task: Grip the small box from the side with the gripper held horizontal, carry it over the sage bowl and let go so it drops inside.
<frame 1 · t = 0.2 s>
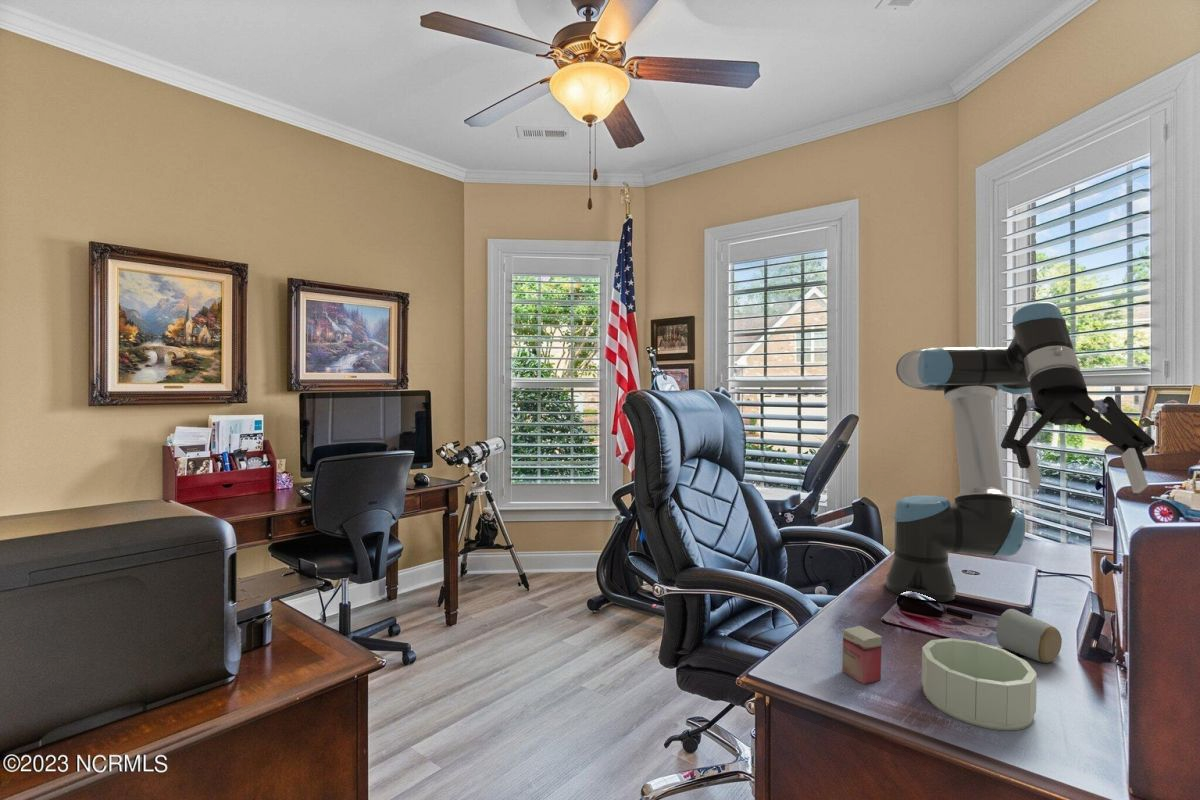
hand: (1087, 487, 90), 35 cm above the table, tool tilted 35°, fingers open, 13 cm apart
small box: (861, 677, 101), on the table
sage bowl: (975, 702, 92), on the table
ceramic mug: (1030, 654, 109), on the table
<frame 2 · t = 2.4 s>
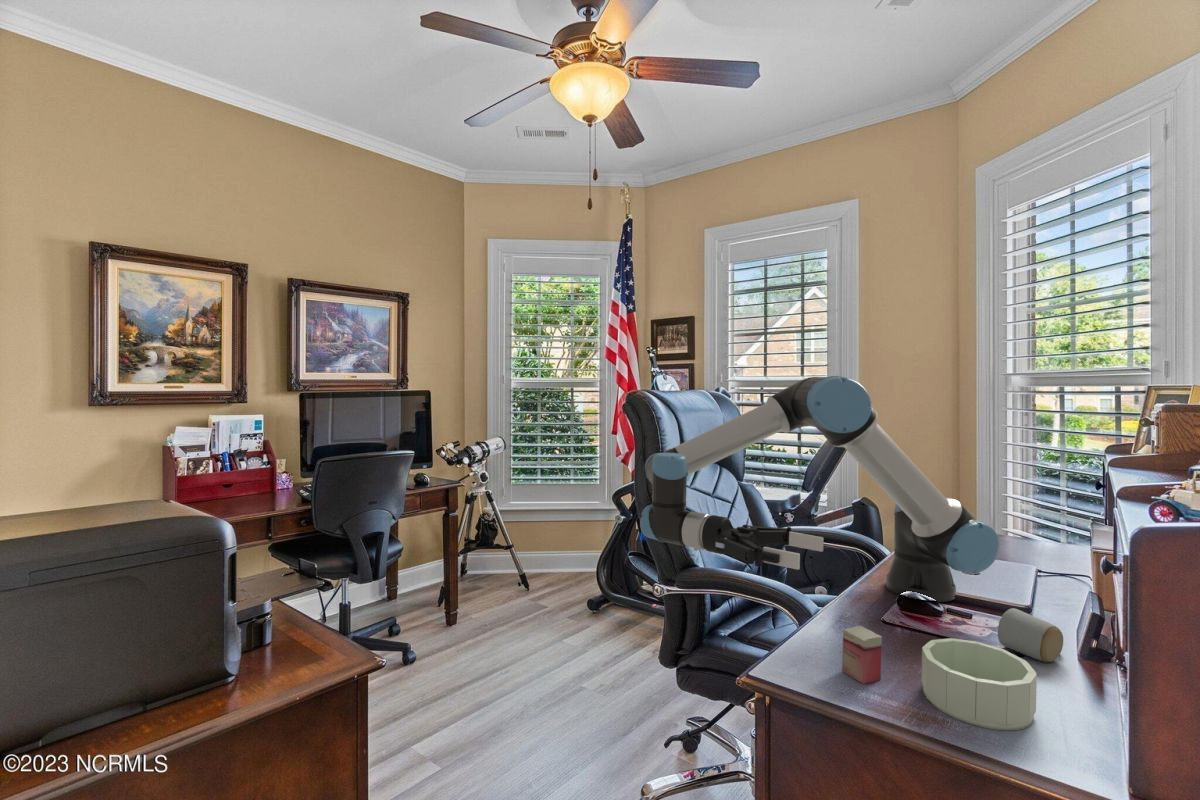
hand: (811, 552, 106), 20 cm above the table, tool horizontal, fingers open, 13 cm apart
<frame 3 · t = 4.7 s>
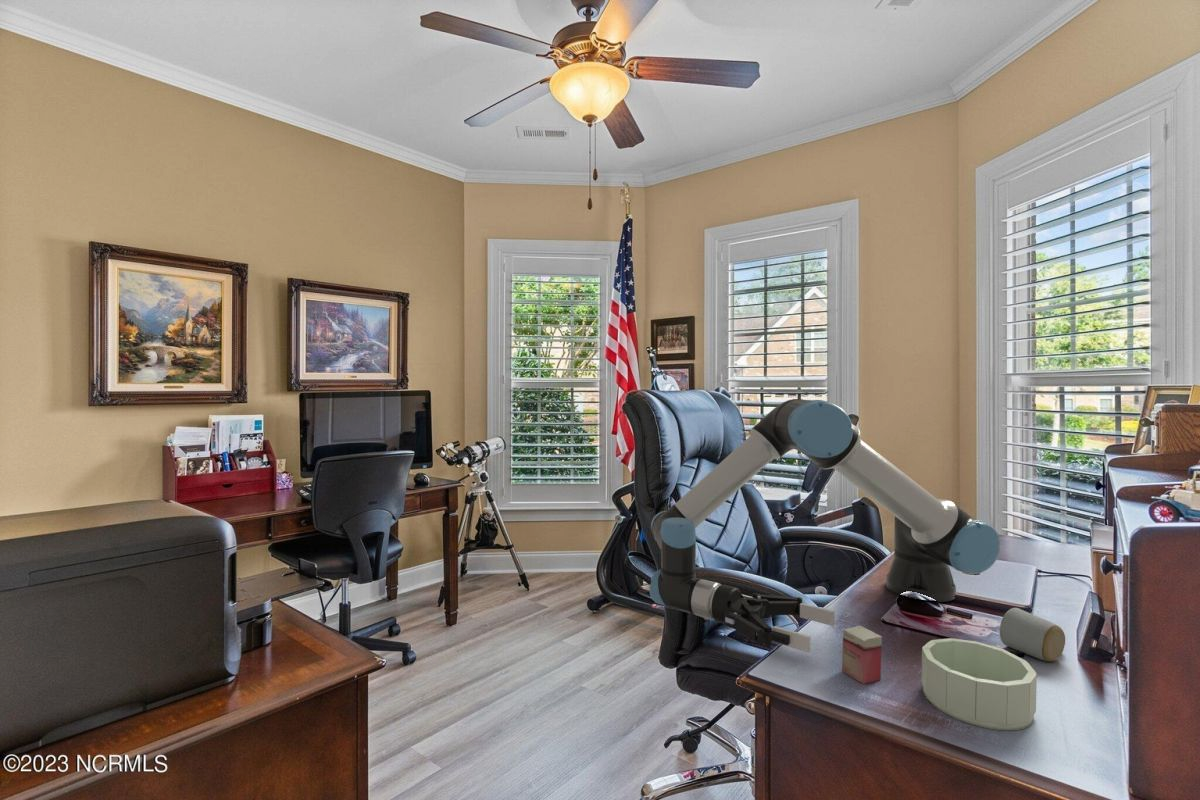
hand: (822, 630, 104), 6 cm above the table, tool horizontal, fingers open, 13 cm apart
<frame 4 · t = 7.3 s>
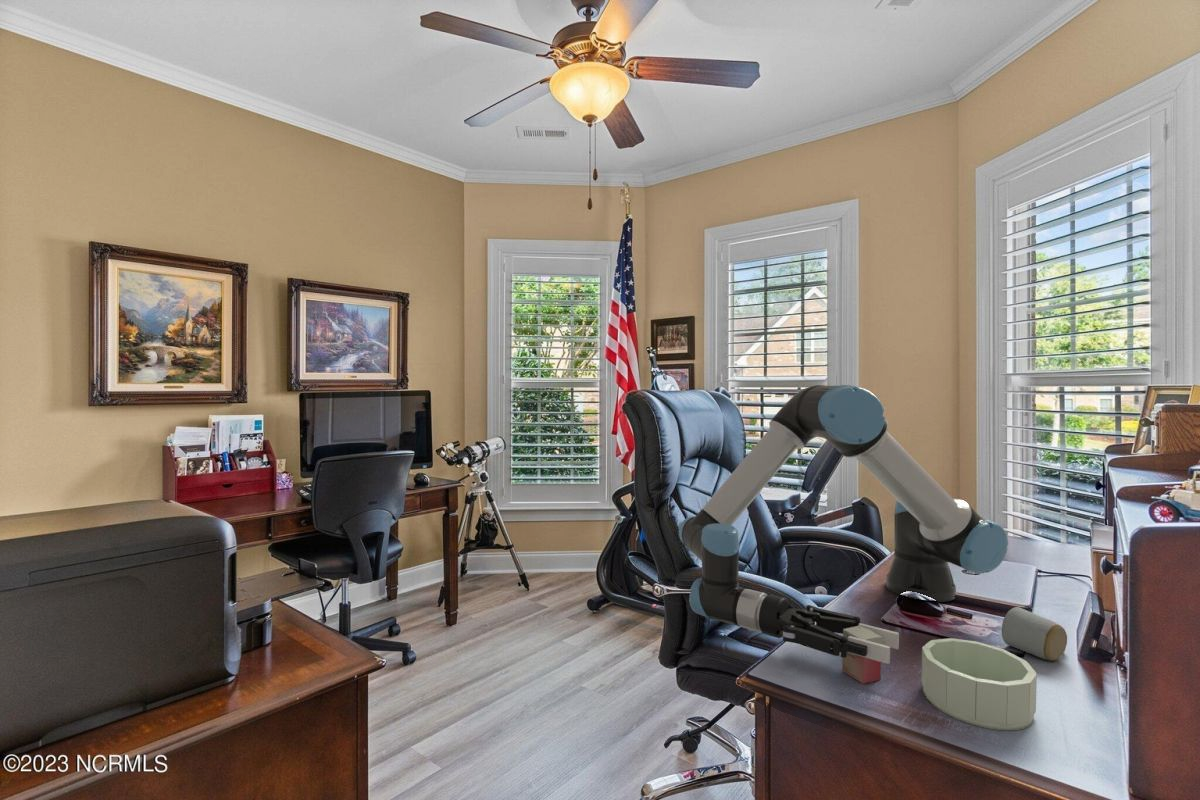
hand: (893, 648, 97), 7 cm above the table, tool horizontal, fingers closed on small box, 6 cm apart
small box: (861, 676, 101), on the table, touching gripper
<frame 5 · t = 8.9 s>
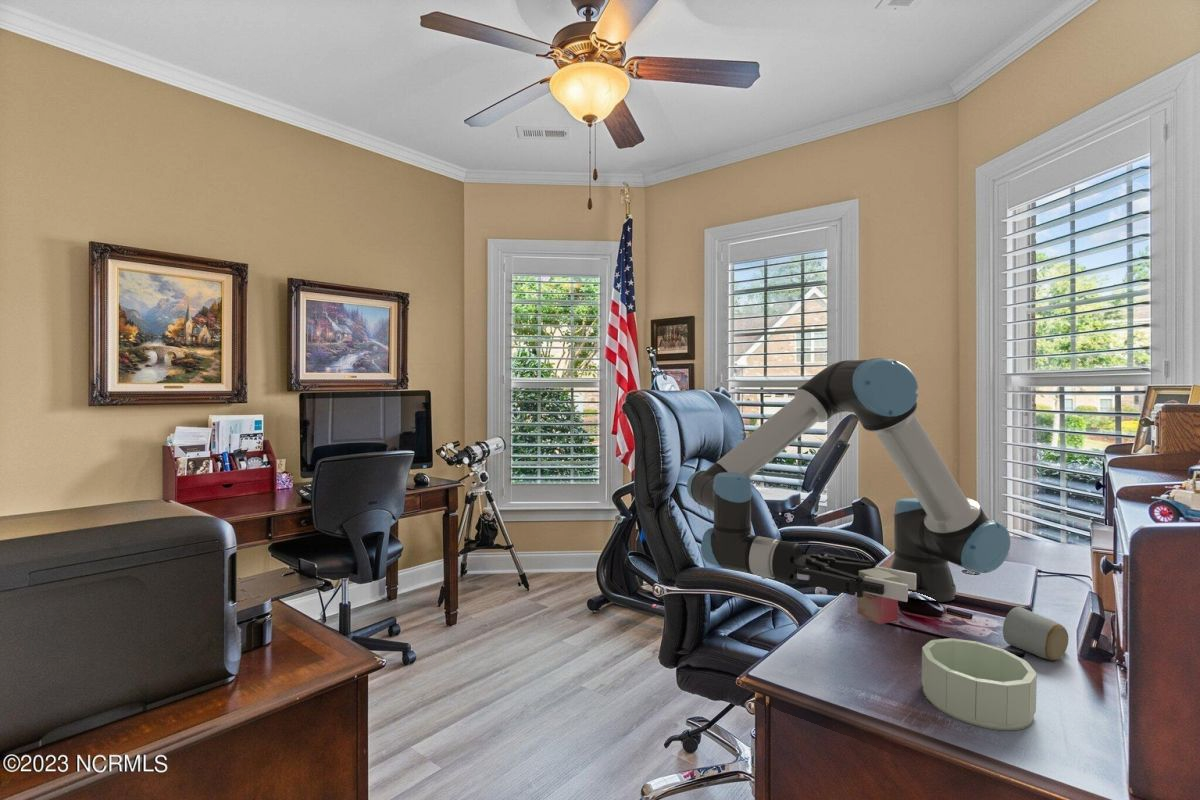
hand: (911, 587, 95), 18 cm above the table, tool horizontal, fingers closed on small box, 6 cm apart
small box: (877, 618, 99), point 11 cm above the table, touching gripper
when the fingers open (15 cm above the table, at t = 10.5 s): small box drops 7 cm, resting on sage bowl.
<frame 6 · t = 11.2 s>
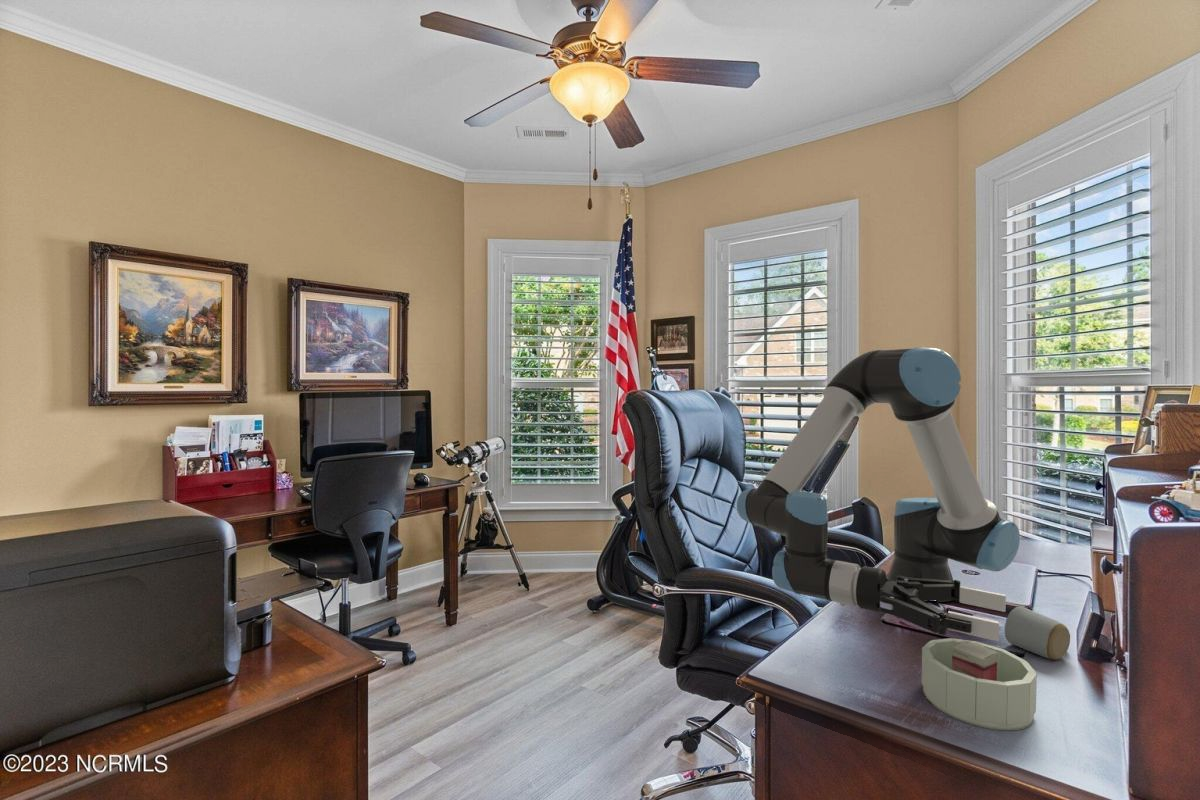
hand: (1002, 616, 90), 15 cm above the table, tool horizontal, fingers open, 13 cm apart
small box: (973, 696, 92), point 1 cm above the table, touching sage bowl
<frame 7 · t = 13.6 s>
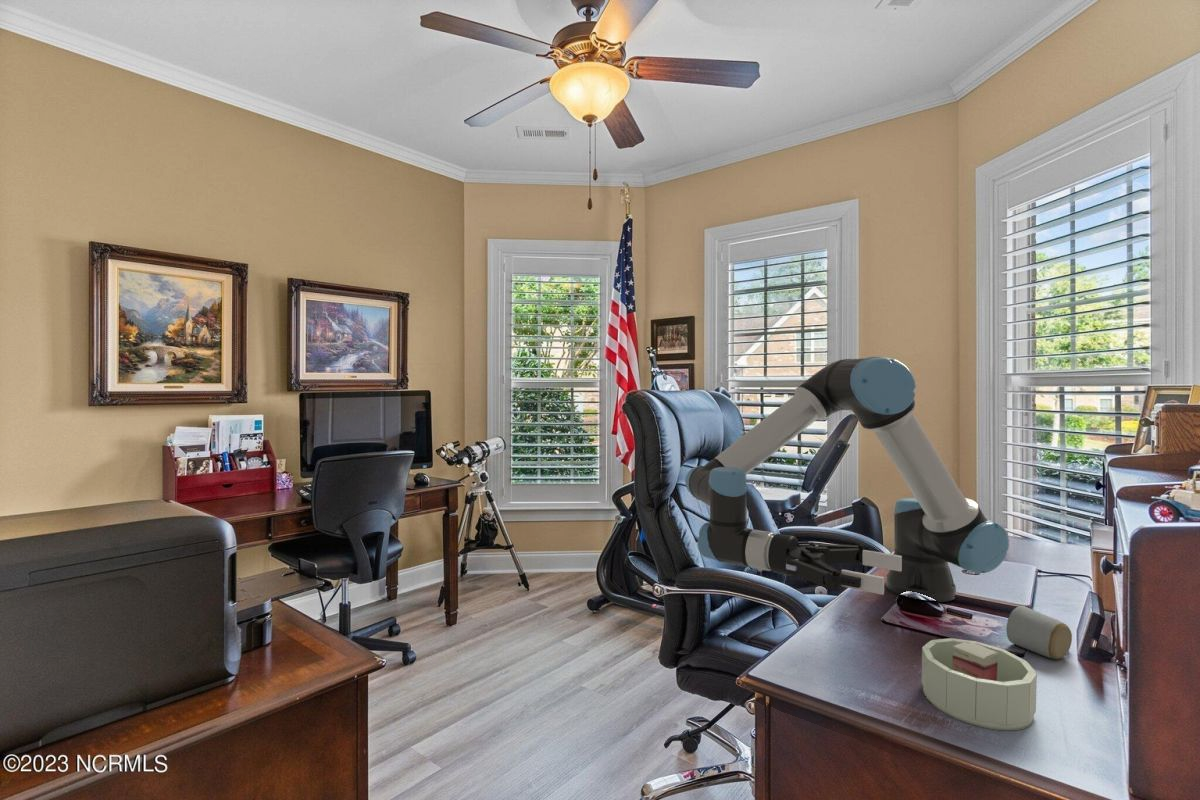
hand: (893, 574, 98), 19 cm above the table, tool horizontal, fingers open, 13 cm apart
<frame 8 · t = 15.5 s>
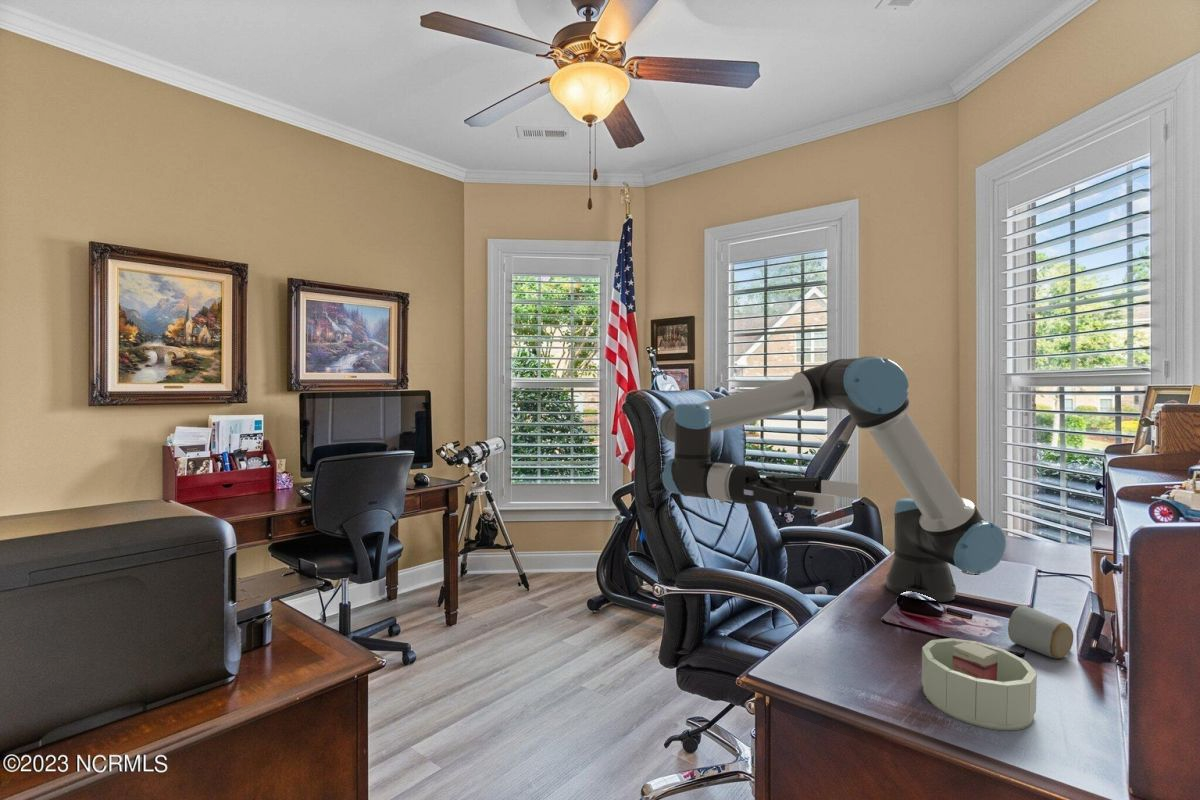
hand: (847, 497, 99), 32 cm above the table, tool horizontal, fingers open, 13 cm apart
at the end: small box inside the target area on the sage bowl (0.4 cm from its centre), point 0.8 cm above the sage bowl's base; the gripper is holding nothing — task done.
